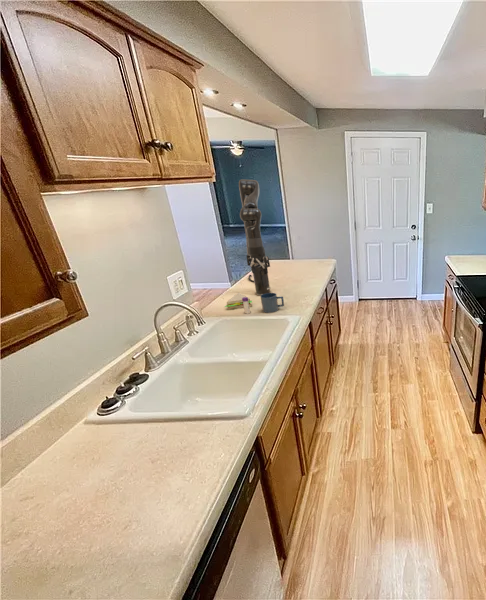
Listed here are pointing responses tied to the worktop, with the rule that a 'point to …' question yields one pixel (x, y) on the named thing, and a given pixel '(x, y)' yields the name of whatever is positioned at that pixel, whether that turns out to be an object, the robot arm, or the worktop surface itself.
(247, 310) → the glue stick
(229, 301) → the sandwich
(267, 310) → the mug
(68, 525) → the worktop surface
